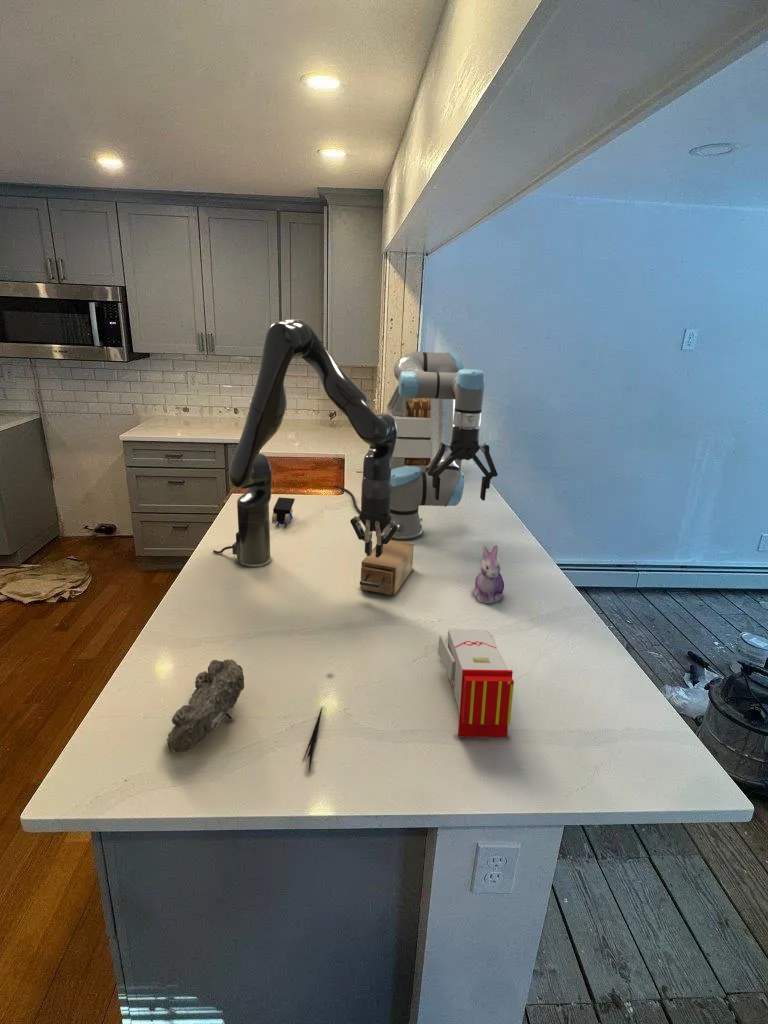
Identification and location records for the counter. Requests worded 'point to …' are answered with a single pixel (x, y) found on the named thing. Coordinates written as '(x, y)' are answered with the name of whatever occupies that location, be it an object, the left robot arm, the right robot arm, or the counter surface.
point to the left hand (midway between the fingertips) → (373, 555)
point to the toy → (478, 682)
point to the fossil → (206, 705)
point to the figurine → (489, 578)
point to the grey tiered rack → (411, 431)
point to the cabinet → (393, 561)
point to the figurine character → (283, 511)
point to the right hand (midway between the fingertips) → (459, 498)
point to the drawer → (376, 579)
